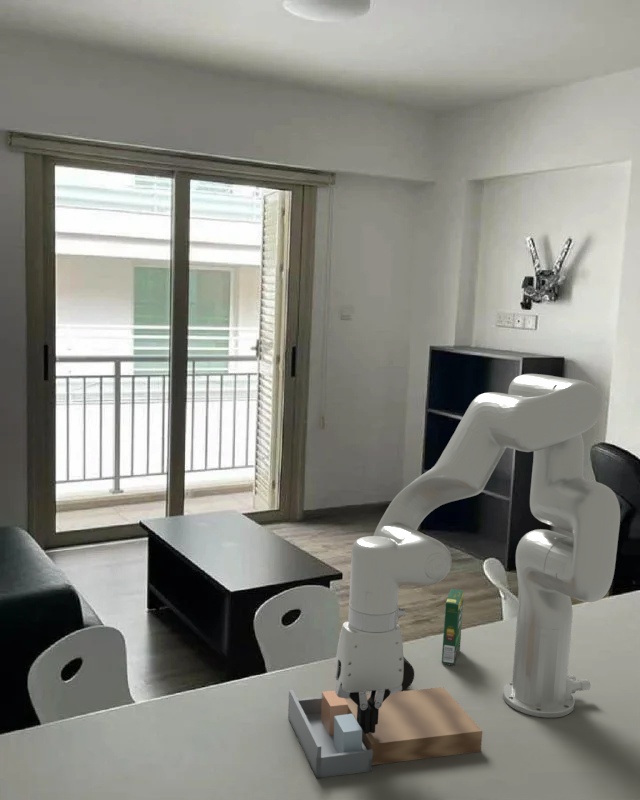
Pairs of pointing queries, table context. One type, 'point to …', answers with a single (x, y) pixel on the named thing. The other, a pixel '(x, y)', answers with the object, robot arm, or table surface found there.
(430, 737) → the board
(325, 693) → the block terracotta
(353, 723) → the pale blue block
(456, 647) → the coffee box
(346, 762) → the box
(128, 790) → the table surface
